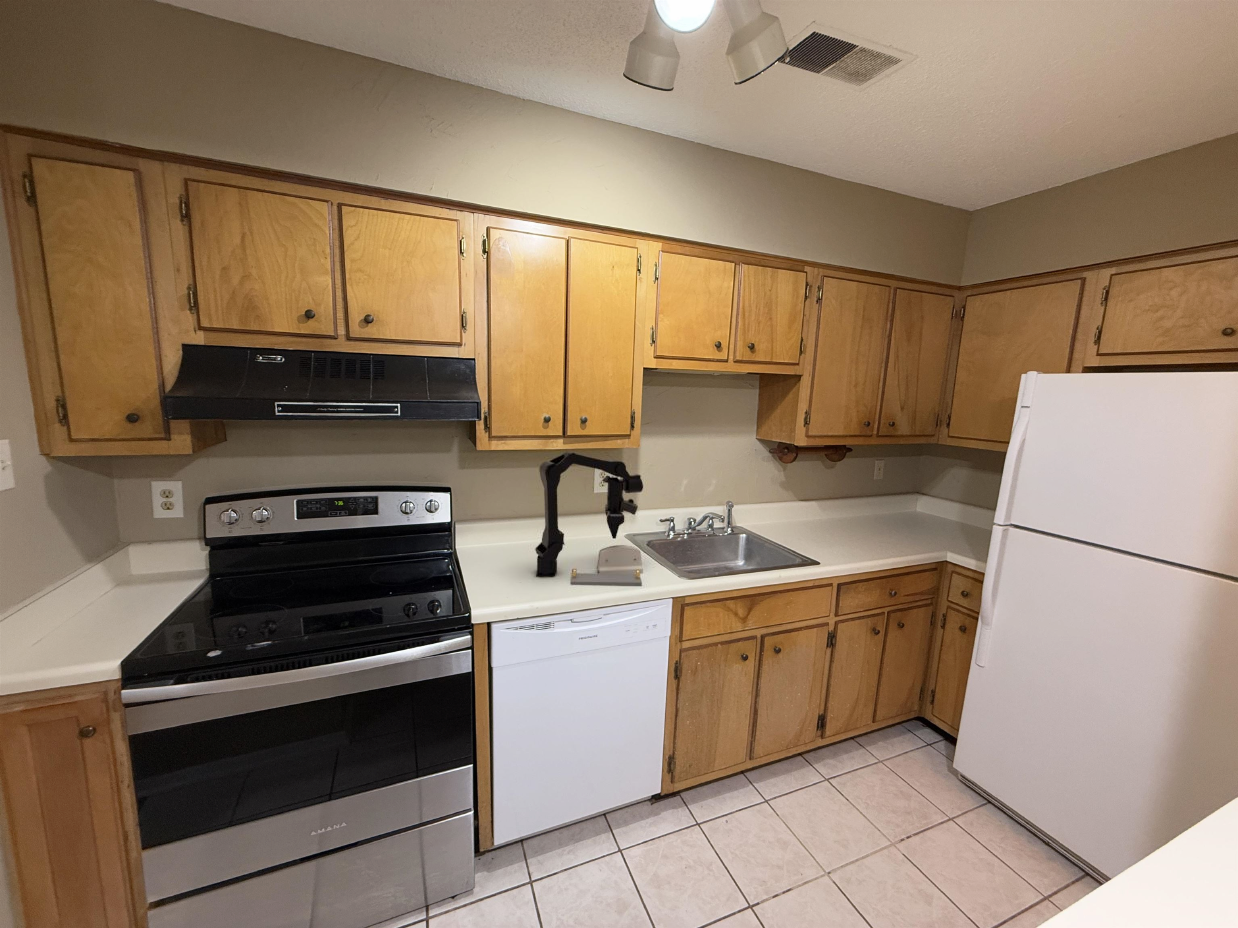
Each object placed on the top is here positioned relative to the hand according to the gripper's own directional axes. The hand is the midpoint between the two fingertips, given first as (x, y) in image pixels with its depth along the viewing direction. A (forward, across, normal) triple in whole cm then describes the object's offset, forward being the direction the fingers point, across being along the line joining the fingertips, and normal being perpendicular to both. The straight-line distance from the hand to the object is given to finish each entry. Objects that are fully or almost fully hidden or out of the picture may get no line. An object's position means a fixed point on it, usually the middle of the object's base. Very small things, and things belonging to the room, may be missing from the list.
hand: (613, 534), depth 187 cm
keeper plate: (+12, -16, +3) cm, 20 cm away
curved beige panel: (+13, -7, -2) cm, 14 cm away
